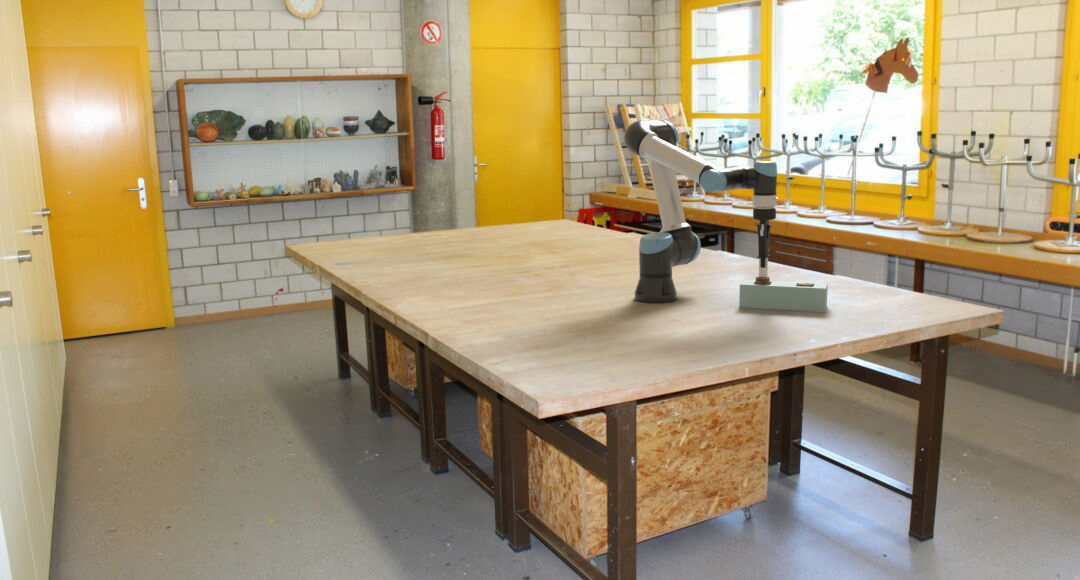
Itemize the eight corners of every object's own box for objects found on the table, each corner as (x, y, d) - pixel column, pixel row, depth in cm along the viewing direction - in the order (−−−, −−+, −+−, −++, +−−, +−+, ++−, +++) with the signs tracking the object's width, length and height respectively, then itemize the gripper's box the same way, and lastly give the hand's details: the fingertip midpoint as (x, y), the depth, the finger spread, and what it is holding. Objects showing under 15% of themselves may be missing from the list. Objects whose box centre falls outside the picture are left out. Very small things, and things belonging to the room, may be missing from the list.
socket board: (739, 307, 306) (739, 284, 304) (743, 301, 314) (743, 279, 312) (824, 312, 296) (825, 288, 294) (826, 306, 304) (827, 283, 302)
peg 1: (754, 301, 306) (754, 278, 304) (756, 298, 310) (756, 275, 308) (768, 301, 304) (768, 278, 302) (769, 299, 308) (770, 276, 306)
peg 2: (796, 308, 301) (797, 285, 299) (797, 305, 305) (798, 282, 303) (810, 309, 299) (811, 285, 298) (811, 306, 303) (812, 283, 302)
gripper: (773, 209, 293) (772, 280, 298) (778, 205, 305) (776, 273, 310) (750, 209, 296) (749, 279, 300) (756, 205, 308) (754, 272, 312)
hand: (763, 276), depth 305 cm, fingers closed
